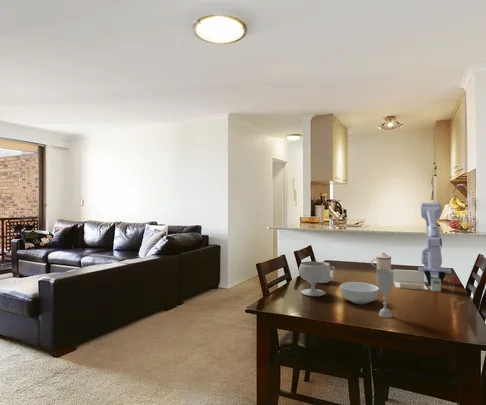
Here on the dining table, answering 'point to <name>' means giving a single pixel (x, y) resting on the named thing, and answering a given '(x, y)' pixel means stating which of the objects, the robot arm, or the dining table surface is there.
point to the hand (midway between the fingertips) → (434, 286)
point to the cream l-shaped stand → (409, 279)
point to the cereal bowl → (359, 292)
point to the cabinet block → (435, 283)
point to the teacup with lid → (383, 261)
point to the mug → (327, 273)
